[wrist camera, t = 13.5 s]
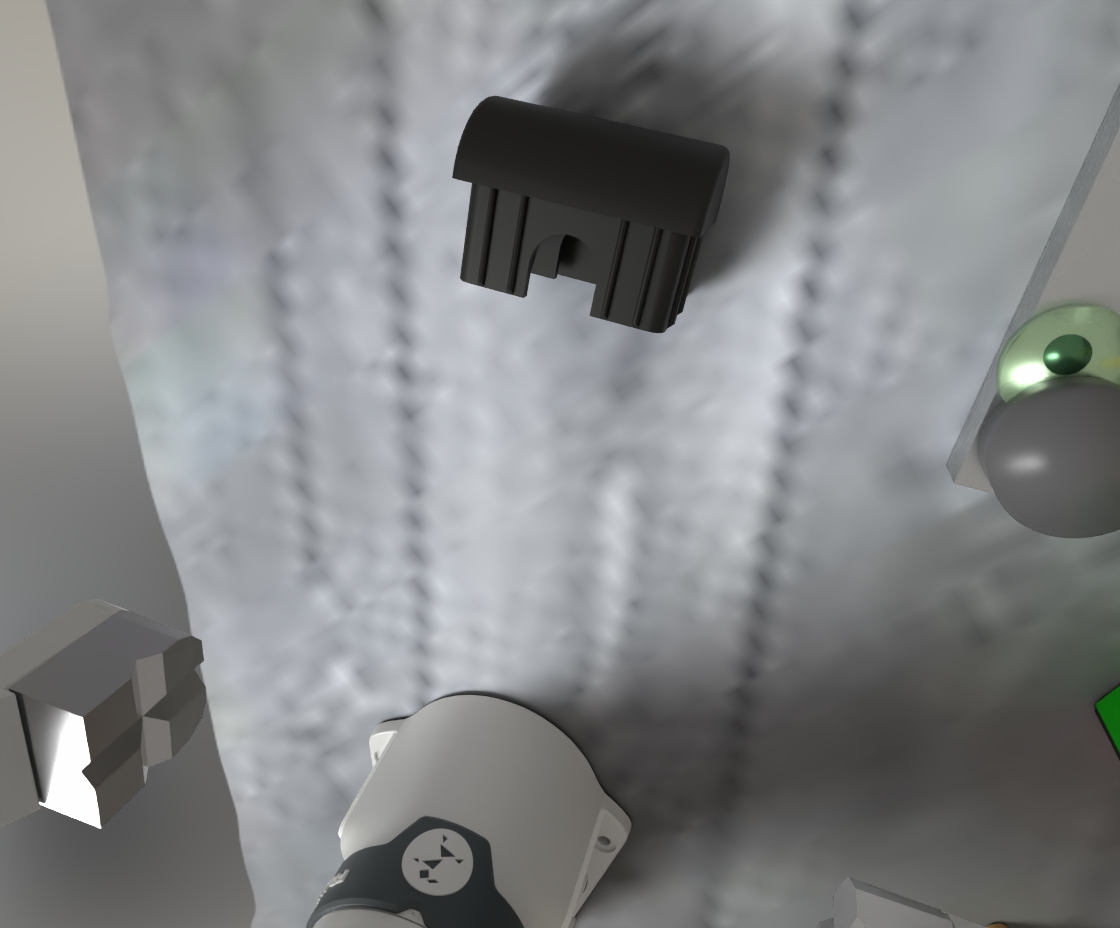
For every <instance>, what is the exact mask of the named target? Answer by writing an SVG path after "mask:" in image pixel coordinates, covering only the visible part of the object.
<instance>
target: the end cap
mask: <svg viewBox="0 0 1120 928" xmlns="http://www.w3.org/2000/svg"><path fill="white" fill-rule="evenodd" d="M729 159H730V154H729V151H728V149H727V148H726V147H725V146H722V145H717V144H713V143H708V142H704V141H699V140H695V139H690V138H686V137H681V136H677V135H672V134H667V133H663V132H658V131H654V130H649V129H645V128H640V127H636V126H631V125H627V124H622V123H618V122H613V121H609V120H604V119H599V118H595V117H590V116H586V115H581V114H577V113H572V112H568V111H563V110H559V109H554V108H550V107H545V106H541V105H536V104H531V103H527V102H522V101H518V100H513V99H509V98H504V97H500V96H491V97H487V98H486V99H484V100H483V101H482V102H480V103H479V105H478V106H477V107H476V108H475V109H474V111H473V113H472V114H471V116H470V118H469V120H468V122H467V124H466V126H465V129H464V131H463V134H462V137H461V140H460V143H459V146H458V150H457V154H456V159H455V163H454V170H453V177H452V178H455V179H458V180H462V181H466V182H471V183H472V188H471V196H470V204H469V212H468V220H467V228H466V236H465V244H464V251H463V259H462V267H461V275H460V279H461V280H462V281H464V282H467V283H470V284H474V285H478V286H481V287H485V288H489V289H492V290H496V291H500V292H504V293H507V294H511V295H515V296H518V297H522V298H524V297H525V296H527V290H528V285H529V279H530V273H533V274H537V275H541V276H545V277H548V278H552V279H555V278H557V274H559V275H563V276H566V277H570V278H574V279H578V280H582V281H586V282H589V283H593V284H596V288H595V293H594V298H593V303H592V307H591V312H590V316H592V317H596V318H600V319H604V320H607V321H611V322H615V323H618V324H622V325H626V326H629V327H633V328H637V329H641V330H644V331H648V332H653V333H664V332H665V331H666V329H667V328H669V327H670V326H672V325H674V324H675V320H676V317H677V315H678V314H680V313H681V312H683V308H684V304H685V301H686V297H687V293H688V290H689V286H690V282H691V278H692V275H693V271H694V267H695V264H696V260H697V256H698V252H699V249H700V245H701V241H702V237H703V234H704V233H705V232H706V231H707V230H708V229H709V228H710V227H711V226H712V225H713V224H714V223H715V222H716V218H717V215H718V211H719V207H720V203H721V199H722V195H723V191H724V187H725V182H726V177H727V172H728V167H729Z"/></svg>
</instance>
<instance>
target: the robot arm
mask: <svg viewBox="0 0 1120 928" xmlns="http://www.w3.org/2000/svg"><path fill="white" fill-rule="evenodd" d="M203 661H204V657H203V649H202V641H201V640H199V639H197V638H195V637H193V636H191V635H189V634H186V633H184V632H181V631H179V630H176V629H174V628H171V627H169V626H166V625H164V624H161V623H159V622H156V621H154V620H151V619H149V618H146V617H144V616H141V615H139V614H136V613H134V612H132V611H128V610H126V609H123V608H121V607H118V606H116V605H113V604H110V603H108V602H105V601H103V600H100V599H93V600H88V601H83V602H81V603H79V604H78V605H76V606H74V607H73V608H71V609H70V610H68V611H67V612H65V613H64V614H62V615H61V616H59V617H57V618H56V619H54V620H53V621H51V622H50V623H48V624H47V625H46V626H44V627H42V628H41V629H39V630H37V631H36V632H35V633H33V634H31V635H30V636H28V637H27V638H25V639H24V640H22V641H21V642H19V643H18V644H16V645H14V646H13V647H11V648H10V649H8V650H7V651H5V652H4V653H2V654H1V655H0V828H1V827H3V826H5V825H8V824H10V823H12V822H14V821H16V820H18V819H20V818H22V817H24V816H26V815H28V814H31V813H33V812H35V811H37V810H39V809H40V804H41V805H43V806H46V807H48V808H51V809H53V810H56V811H58V812H61V813H63V814H66V815H68V816H71V817H73V818H76V819H78V820H81V821H83V822H86V823H89V824H91V825H93V826H96V827H98V828H102V827H103V826H104V825H105V824H106V823H107V822H108V821H109V820H110V819H111V818H112V817H113V816H114V815H115V814H116V813H117V812H118V811H119V810H120V809H121V808H122V807H123V806H124V805H125V804H126V803H127V802H129V801H130V799H132V797H134V795H136V794H137V793H138V791H140V789H142V788H143V787H144V786H145V782H146V776H147V771H148V767H150V766H152V765H155V764H158V763H160V762H163V761H165V760H168V759H171V758H173V757H174V756H175V755H176V754H177V752H178V751H179V750H180V749H181V748H182V747H183V746H184V745H185V744H186V743H187V742H188V741H189V740H190V738H191V736H192V735H193V733H194V731H195V730H196V728H197V726H198V724H199V723H200V721H201V719H202V716H203V712H204V708H205V704H206V687H205V685H204V684H203V682H202V680H201V679H200V678H199V676H198V674H197V673H196V671H195V669H196V668H197V667H198V666H199V665H200V664H201V663H202V662H203ZM369 746H370V752H371V758H372V764H373V769H372V771H371V773H370V774H369V776H368V778H367V780H366V781H365V783H364V785H363V786H362V788H361V790H360V792H359V793H358V795H357V797H356V799H355V800H354V802H353V804H352V805H351V807H350V809H349V811H348V812H347V814H346V816H345V818H344V820H343V821H342V823H341V826H340V828H339V832H338V835H339V837H340V838H341V851H342V854H343V857H344V859H345V861H344V862H343V863H342V865H341V866H340V868H339V870H338V871H337V873H336V874H335V876H334V877H333V878H332V880H331V881H330V882H329V883H328V884H327V885H326V887H325V889H324V891H323V892H322V894H321V896H320V897H319V899H318V901H317V904H316V907H315V910H314V912H313V913H312V915H311V917H310V919H309V921H308V923H307V926H306V928H574V926H575V922H576V918H575V917H574V916H575V915H576V913H577V912H578V911H579V909H580V908H581V906H582V905H583V903H584V902H585V900H586V899H587V897H588V896H589V895H590V893H591V892H592V890H593V889H594V887H595V886H596V884H597V883H598V881H599V880H600V879H601V877H602V876H603V874H604V873H605V871H606V870H607V868H608V867H609V865H610V864H611V863H612V861H613V860H614V858H615V857H616V855H617V854H618V852H619V851H620V849H621V848H622V847H623V845H624V844H625V842H626V840H627V838H628V835H629V833H630V830H631V827H632V825H631V821H630V819H629V817H628V816H627V815H626V813H625V812H624V811H623V810H622V809H621V808H620V807H619V806H618V805H617V804H616V803H615V802H614V801H613V800H612V799H611V798H610V797H609V796H608V795H606V794H605V792H604V791H603V789H602V788H601V786H600V784H599V783H598V781H597V779H596V776H595V774H594V772H593V770H592V768H591V766H590V765H589V763H588V761H587V760H586V758H585V757H584V755H583V754H582V753H581V751H580V750H579V749H578V748H577V747H576V745H575V744H574V743H573V742H572V741H571V740H570V739H569V738H568V737H567V736H566V735H565V734H564V733H563V732H561V731H560V730H559V729H558V728H557V727H555V726H554V725H553V724H551V723H550V722H548V721H547V720H545V719H544V718H542V717H541V716H539V715H537V714H535V713H533V712H532V711H530V710H528V709H525V708H523V707H521V706H519V705H516V704H513V703H511V702H508V701H504V700H501V699H497V698H492V697H487V696H478V695H458V696H451V697H446V698H443V699H439V700H437V701H434V702H432V703H430V704H428V705H427V706H425V707H423V708H422V709H421V710H419V711H418V712H417V713H415V714H414V715H412V716H411V717H409V718H407V719H402V720H394V721H388V722H384V723H381V724H379V725H377V726H376V727H375V729H374V731H373V733H372V735H371V737H370V739H369ZM833 911H834V917H833V918H830V919H827V920H824V921H821V922H819V924H818V926H817V928H987V927H984V926H981V925H979V924H976V923H973V922H970V921H968V920H965V919H962V918H960V917H957V916H954V915H951V914H949V913H943V912H942V911H941V910H940V909H937V908H934V907H931V906H929V905H926V904H923V903H920V902H917V901H915V900H912V899H909V898H906V897H903V896H901V895H898V894H895V893H892V892H889V891H886V890H884V889H881V888H878V887H875V886H872V885H870V884H867V883H864V882H861V881H858V880H856V879H853V878H850V877H848V878H847V879H845V880H844V881H843V882H841V884H840V885H839V887H838V889H837V891H836V893H835V894H834V896H833Z"/></svg>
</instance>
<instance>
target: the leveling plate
mask: <svg viewBox="0 0 1120 928" xmlns="http://www.w3.org/2000/svg"><path fill="white" fill-rule="evenodd" d="M1073 376H1084V377H1094V378H1099V379H1104V380H1107V381H1110V382H1113V383H1115V384H1117V385H1120V85H1119V87H1118V89H1117V92H1116V94H1115V96H1114V98H1113V100H1112V103H1111V105H1110V107H1109V109H1108V111H1107V114H1106V116H1105V118H1104V120H1103V122H1102V125H1101V127H1100V129H1099V131H1098V133H1097V136H1096V138H1095V140H1094V142H1093V144H1092V146H1091V149H1090V151H1089V153H1088V155H1087V157H1086V160H1085V162H1084V164H1083V166H1082V168H1081V171H1080V173H1079V175H1078V177H1077V179H1076V182H1075V184H1074V186H1073V188H1072V190H1071V193H1070V195H1069V197H1068V199H1067V201H1066V203H1065V206H1064V208H1063V210H1062V212H1061V214H1060V217H1059V219H1058V221H1057V223H1056V225H1055V228H1054V230H1053V232H1052V234H1051V236H1050V239H1049V241H1048V243H1047V245H1046V247H1045V250H1044V252H1043V254H1042V256H1041V258H1040V260H1039V263H1038V265H1037V267H1036V269H1035V271H1034V274H1033V276H1032V278H1031V280H1030V282H1029V285H1028V287H1027V289H1026V291H1025V293H1024V296H1023V298H1022V300H1021V302H1020V304H1019V307H1018V309H1017V311H1016V313H1015V315H1014V317H1013V320H1012V322H1011V324H1010V326H1009V328H1008V331H1007V333H1006V335H1005V337H1004V339H1003V342H1002V344H1001V346H1000V348H999V350H998V353H997V355H996V357H995V359H994V361H993V364H992V366H991V368H990V370H989V372H988V374H987V377H986V379H985V381H984V383H983V385H982V388H981V390H980V392H979V394H978V396H977V399H976V401H975V403H974V405H973V407H972V410H971V412H970V414H969V416H968V418H967V421H966V423H965V425H964V427H963V429H962V431H961V434H960V436H959V438H958V440H957V442H956V445H955V447H954V449H953V451H952V453H951V456H950V458H949V460H948V462H947V464H946V466H947V468H948V471H949V473H950V475H951V478H952V480H953V482H954V483H955V484H959V485H963V486H966V487H970V488H974V489H978V490H981V491H985V492H989V493H993V494H995V492H994V490H993V489H992V487H991V485H990V483H989V481H988V479H987V477H986V475H985V473H984V471H983V469H982V467H981V463H980V459H979V451H978V448H979V439H980V434H981V431H982V428H983V426H984V423H985V422H986V420H987V418H988V416H989V415H990V413H991V412H992V411H993V409H994V408H995V407H996V406H997V405H998V404H999V403H1000V402H1001V401H1002V400H1003V399H1004V400H1005V402H1006V403H1007V402H1008V401H1009V400H1010V399H1012V398H1013V397H1014V396H1016V395H1017V394H1019V393H1020V392H1022V391H1024V390H1026V389H1028V388H1030V387H1031V386H1034V385H1036V384H1039V383H1042V382H1044V381H1048V380H1052V379H1056V378H1062V377H1073Z"/></svg>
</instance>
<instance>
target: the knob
mask: <svg viewBox="0 0 1120 928" xmlns="http://www.w3.org/2000/svg"><path fill="white" fill-rule="evenodd" d="M978 451H979V459H980V463H981V467H982V469H983V471H984V473H985V475H986V477H987V479H988V481H989V483H990V485H991V487H992V489H993V490H994V492H995V494H996V496H997V498H998V500H999V501H1000V503H1001V505H1002V506H1003V508H1004V509H1005V510H1006V511H1007V512H1008V513H1009V514H1010V515H1011V516H1012V517H1013V518H1014V519H1015V520H1016V521H1018V522H1019V523H1021V524H1023V525H1024V526H1026V527H1028V528H1030V529H1032V530H1034V531H1037V532H1040V533H1043V534H1046V535H1050V536H1055V537H1063V538H1086V537H1094V536H1099V535H1104V534H1107V533H1110V532H1114V531H1116V530H1119V529H1120V385H1117V384H1115V383H1113V382H1110V381H1107V380H1104V379H1099V378H1094V377H1084V376H1073V377H1062V378H1056V379H1052V380H1048V381H1044V382H1042V383H1039V384H1036V385H1034V386H1031V387H1030V388H1028V389H1026V390H1024V391H1022V392H1020V393H1019V394H1017V395H1016V396H1014V397H1013V398H1012V399H1010V400H1009V401H1008V402H1007V403H1006V402H1005V400H1004V399H1003V400H1002V401H1001V402H1000V403H999V404H998V405H997V406H996V407H995V408H994V409H993V411H992V412H991V413H990V415H989V416H988V418H987V420H986V422H985V423H984V426H983V428H982V431H981V434H980V439H979V448H978Z"/></svg>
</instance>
